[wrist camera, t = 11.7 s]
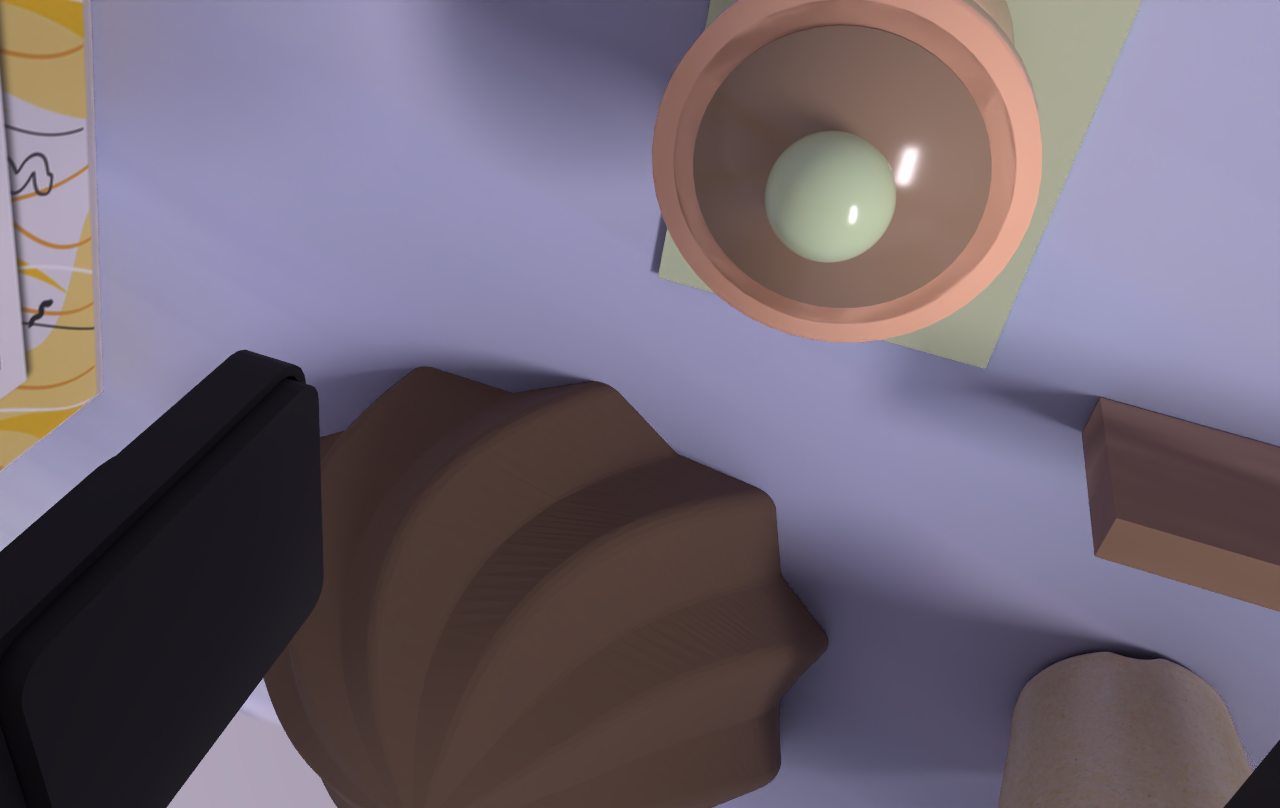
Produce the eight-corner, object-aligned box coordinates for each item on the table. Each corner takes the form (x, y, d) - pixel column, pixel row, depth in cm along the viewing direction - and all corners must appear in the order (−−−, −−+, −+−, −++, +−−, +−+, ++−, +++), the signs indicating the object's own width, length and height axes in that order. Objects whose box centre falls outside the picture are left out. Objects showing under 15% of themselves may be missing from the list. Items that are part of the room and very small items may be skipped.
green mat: (985, 365, 28) (985, 369, 28) (659, 274, 29) (657, 277, 29) (1245, -248, 20) (1247, -248, 20) (776, -341, 21) (775, -341, 21)
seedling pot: (973, 232, 26) (959, 446, 19) (705, 161, 27) (595, 340, 20) (1084, -61, 22) (1122, 69, 15) (765, -132, 23) (654, -44, 16)
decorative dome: (282, 658, 45) (126, 872, 37) (328, 264, 33) (110, 454, 25) (712, 845, 43) (647, 1107, 36) (922, 508, 32) (895, 789, 24)
